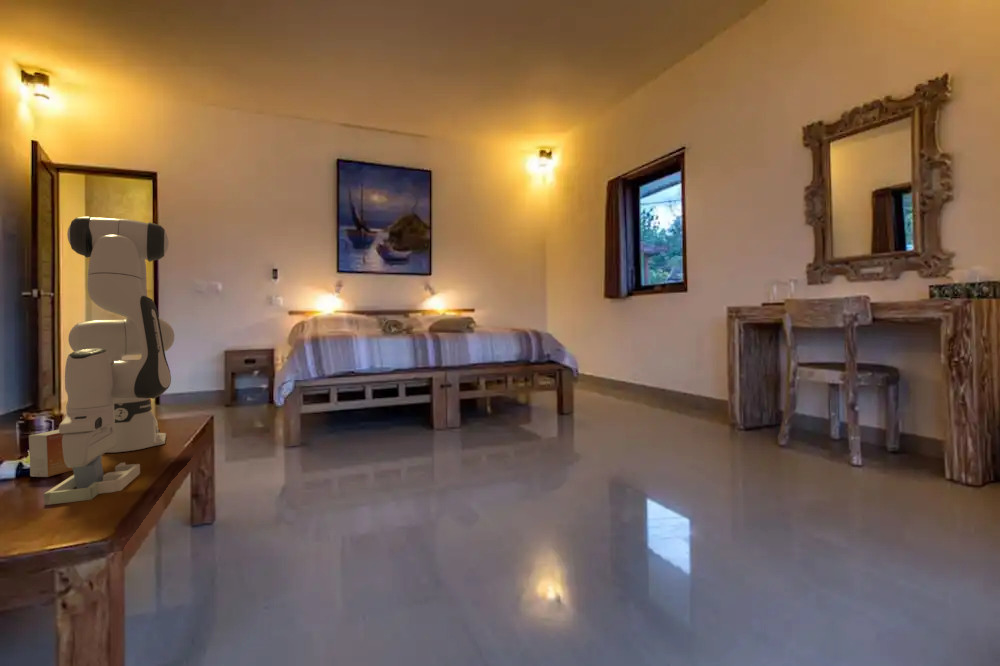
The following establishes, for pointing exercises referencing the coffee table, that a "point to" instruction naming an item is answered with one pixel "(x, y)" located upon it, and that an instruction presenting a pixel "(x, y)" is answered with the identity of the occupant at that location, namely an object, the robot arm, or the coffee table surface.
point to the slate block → (89, 473)
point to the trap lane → (92, 485)
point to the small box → (46, 454)
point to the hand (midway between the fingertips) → (94, 475)
